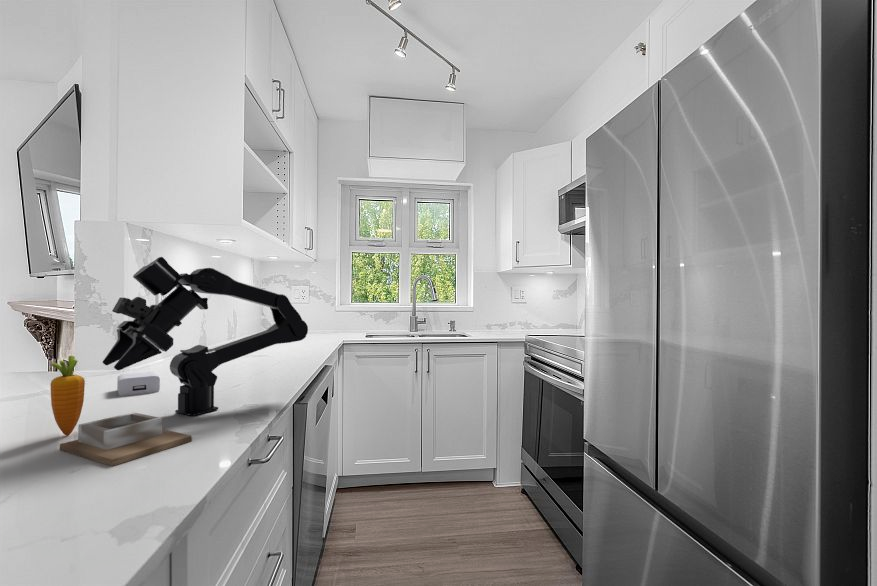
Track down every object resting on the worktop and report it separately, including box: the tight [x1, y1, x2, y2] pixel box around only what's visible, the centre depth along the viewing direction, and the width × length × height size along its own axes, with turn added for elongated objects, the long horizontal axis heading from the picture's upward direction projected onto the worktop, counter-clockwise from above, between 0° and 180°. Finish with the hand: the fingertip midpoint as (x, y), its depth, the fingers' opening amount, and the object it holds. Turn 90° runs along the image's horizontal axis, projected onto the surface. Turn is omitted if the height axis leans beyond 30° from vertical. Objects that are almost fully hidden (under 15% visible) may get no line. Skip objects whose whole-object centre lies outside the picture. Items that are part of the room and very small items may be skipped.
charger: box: [116, 371, 161, 397], centre depth 122 cm, size 5×9×15 cm
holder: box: [59, 411, 193, 467], centre depth 77 cm, size 13×16×4 cm
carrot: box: [50, 355, 86, 437], centre depth 82 cm, size 5×5×15 cm
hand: (109, 366), depth 87 cm, fingers open, 9 cm apart
